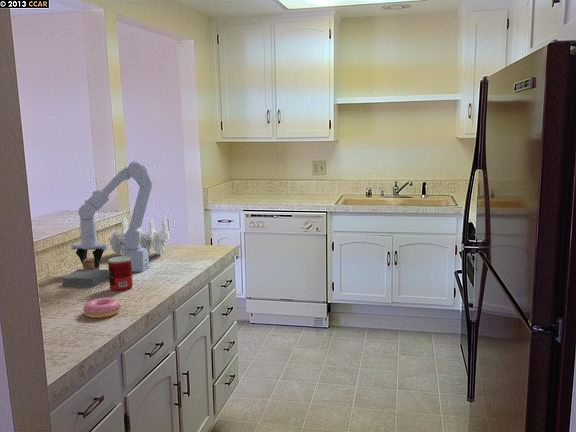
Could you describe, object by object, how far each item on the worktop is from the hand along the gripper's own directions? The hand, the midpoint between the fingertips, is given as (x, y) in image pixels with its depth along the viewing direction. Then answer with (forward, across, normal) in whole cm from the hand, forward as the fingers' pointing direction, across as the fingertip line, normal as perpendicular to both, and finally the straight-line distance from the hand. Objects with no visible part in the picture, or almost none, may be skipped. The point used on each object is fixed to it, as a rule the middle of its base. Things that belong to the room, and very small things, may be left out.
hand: (91, 267), depth 207 cm
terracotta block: (+2, 0, 0) cm, 2 cm away
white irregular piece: (+2, +9, +30) cm, 31 cm away
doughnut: (+3, +26, -44) cm, 51 cm away
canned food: (+2, +21, -19) cm, 28 cm away
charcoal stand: (+2, +4, -12) cm, 13 cm away
